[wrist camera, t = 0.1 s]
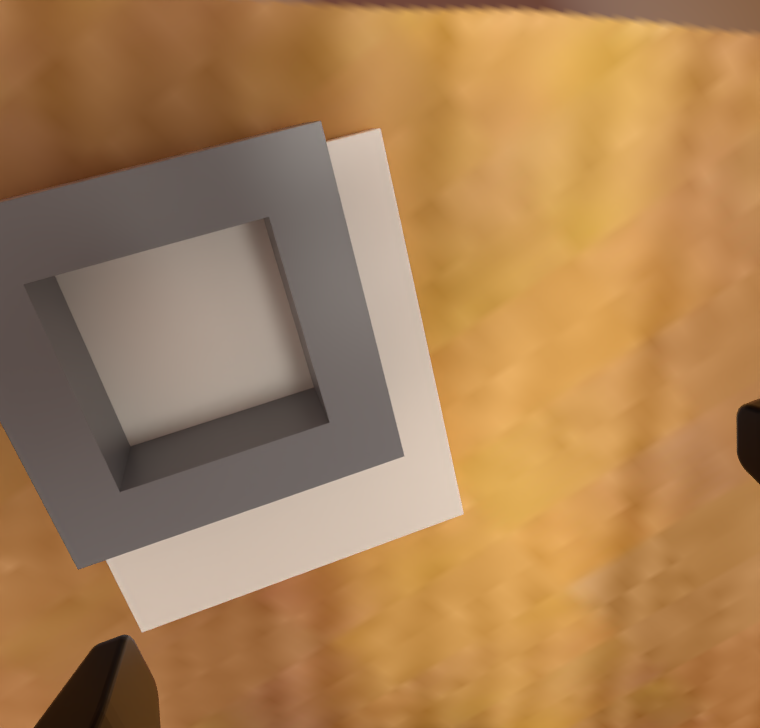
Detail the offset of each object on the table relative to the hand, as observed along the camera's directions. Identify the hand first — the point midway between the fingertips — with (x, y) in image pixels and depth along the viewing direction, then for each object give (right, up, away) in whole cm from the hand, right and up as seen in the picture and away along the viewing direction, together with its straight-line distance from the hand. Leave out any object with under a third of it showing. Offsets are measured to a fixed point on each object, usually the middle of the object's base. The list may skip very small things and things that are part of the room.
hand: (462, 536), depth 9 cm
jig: (-6, +1, +14) cm, 15 cm away
